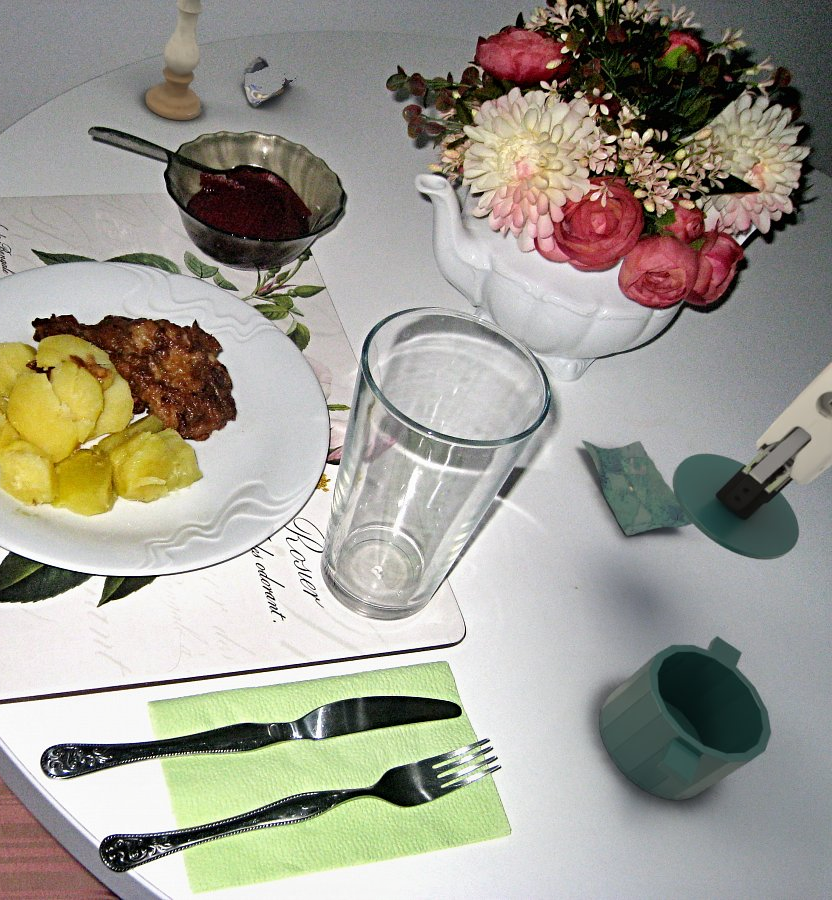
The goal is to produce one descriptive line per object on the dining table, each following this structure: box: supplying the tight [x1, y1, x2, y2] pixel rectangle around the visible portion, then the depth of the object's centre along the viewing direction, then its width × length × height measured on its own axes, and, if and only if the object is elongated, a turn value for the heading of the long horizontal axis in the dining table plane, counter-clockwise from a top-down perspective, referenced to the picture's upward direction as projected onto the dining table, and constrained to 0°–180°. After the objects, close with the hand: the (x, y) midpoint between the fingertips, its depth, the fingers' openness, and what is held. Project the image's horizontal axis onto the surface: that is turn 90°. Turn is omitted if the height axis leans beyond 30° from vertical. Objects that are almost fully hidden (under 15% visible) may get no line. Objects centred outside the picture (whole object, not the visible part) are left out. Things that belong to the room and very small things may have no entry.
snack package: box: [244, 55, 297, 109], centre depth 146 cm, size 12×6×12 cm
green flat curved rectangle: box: [581, 439, 694, 536], centre depth 102 cm, size 13×8×2 cm, turn 10°
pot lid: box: [672, 453, 800, 561], centre depth 78 cm, size 11×11×7 cm
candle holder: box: [145, 0, 204, 121], centre depth 131 cm, size 9×9×20 cm
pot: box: [599, 635, 772, 801], centre depth 78 cm, size 10×16×8 cm, turn 142°
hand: (742, 498), depth 79 cm, fingers closed on pot lid, 3 cm apart
